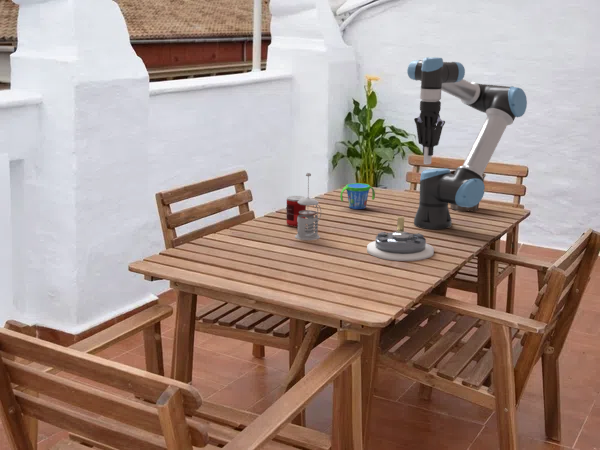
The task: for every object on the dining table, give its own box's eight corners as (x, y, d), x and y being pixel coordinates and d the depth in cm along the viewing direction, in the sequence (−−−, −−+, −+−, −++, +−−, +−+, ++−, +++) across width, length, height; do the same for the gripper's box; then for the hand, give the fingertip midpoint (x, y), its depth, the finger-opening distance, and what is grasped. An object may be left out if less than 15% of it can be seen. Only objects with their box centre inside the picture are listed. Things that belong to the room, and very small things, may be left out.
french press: (289, 236, 324) (290, 172, 318) (309, 231, 332) (310, 168, 326) (308, 241, 317) (309, 176, 311) (328, 236, 326) (330, 172, 320)
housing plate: (420, 241, 320) (420, 236, 319) (443, 259, 297) (443, 253, 297) (359, 244, 315) (359, 239, 314) (378, 262, 292) (378, 256, 292)
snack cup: (342, 210, 368) (343, 188, 365) (337, 205, 378) (338, 183, 375) (377, 210, 370) (378, 187, 368) (371, 204, 380) (372, 182, 378)
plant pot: (488, 208, 378) (491, 172, 374) (475, 214, 364) (478, 178, 360) (454, 203, 386) (456, 168, 382) (440, 209, 373) (442, 173, 369)
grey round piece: (426, 254, 296) (428, 229, 294) (375, 252, 298) (376, 227, 295) (424, 241, 313) (425, 217, 311) (375, 239, 315) (376, 215, 313)
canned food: (307, 222, 346) (308, 196, 343) (301, 227, 339) (302, 200, 336) (290, 221, 348) (290, 195, 346) (283, 225, 341) (283, 198, 338)
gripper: (451, 101, 307) (447, 165, 313) (423, 98, 316) (420, 160, 322) (438, 102, 302) (434, 167, 308) (410, 99, 311) (407, 162, 317)
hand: (427, 163), depth 315 cm, fingers closed
